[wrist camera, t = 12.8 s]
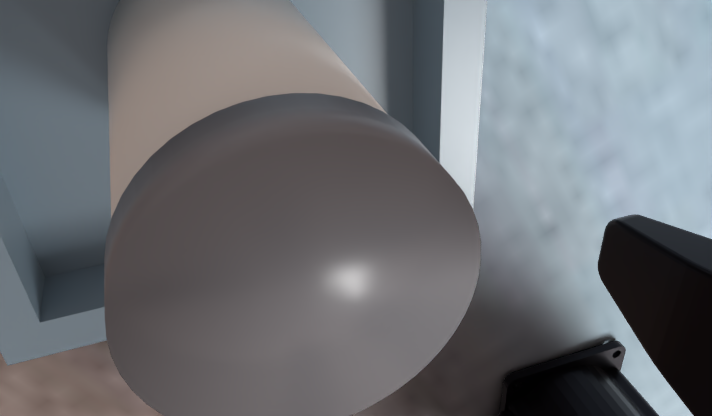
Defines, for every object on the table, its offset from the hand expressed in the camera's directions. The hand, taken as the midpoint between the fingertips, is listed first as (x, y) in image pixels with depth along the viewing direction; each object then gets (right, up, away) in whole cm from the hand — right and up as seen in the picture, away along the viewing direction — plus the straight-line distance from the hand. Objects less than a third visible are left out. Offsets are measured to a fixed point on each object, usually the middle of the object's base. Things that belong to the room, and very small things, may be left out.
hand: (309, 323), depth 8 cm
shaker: (-3, +6, +9) cm, 11 cm away
